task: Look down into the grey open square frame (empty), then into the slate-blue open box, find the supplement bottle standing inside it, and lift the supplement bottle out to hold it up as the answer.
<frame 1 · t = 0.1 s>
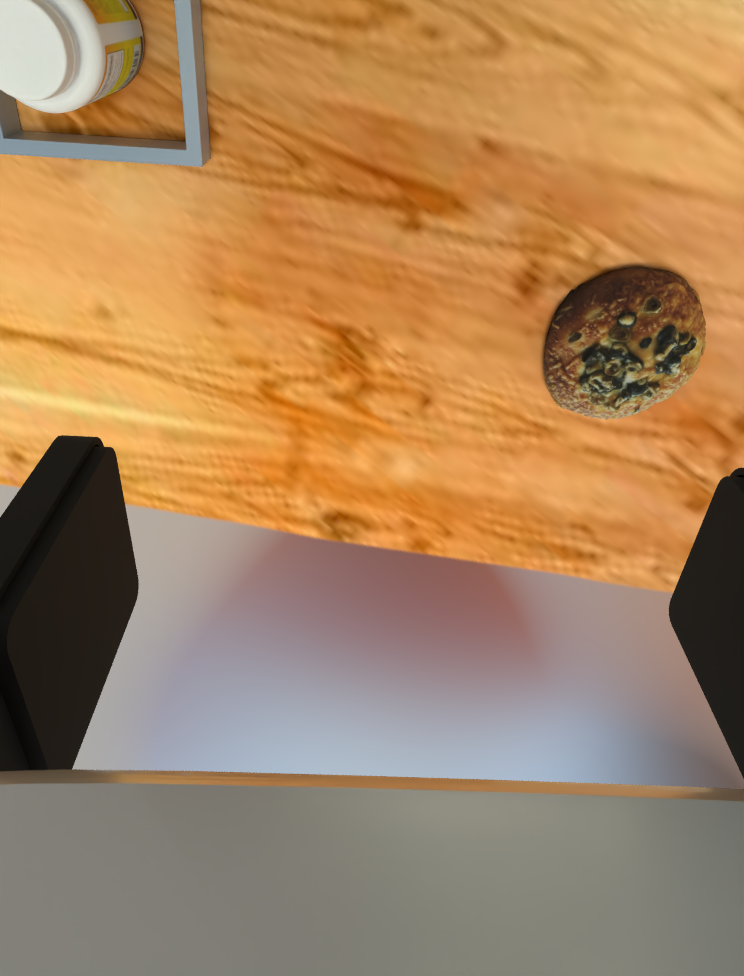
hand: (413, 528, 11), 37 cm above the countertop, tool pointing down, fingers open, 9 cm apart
slate-blue box: (94, 34, 38), on the countertop
bread roll: (618, 341, 49), on the countertop
supplement bottle: (96, 34, 39), resting in slate-blue box
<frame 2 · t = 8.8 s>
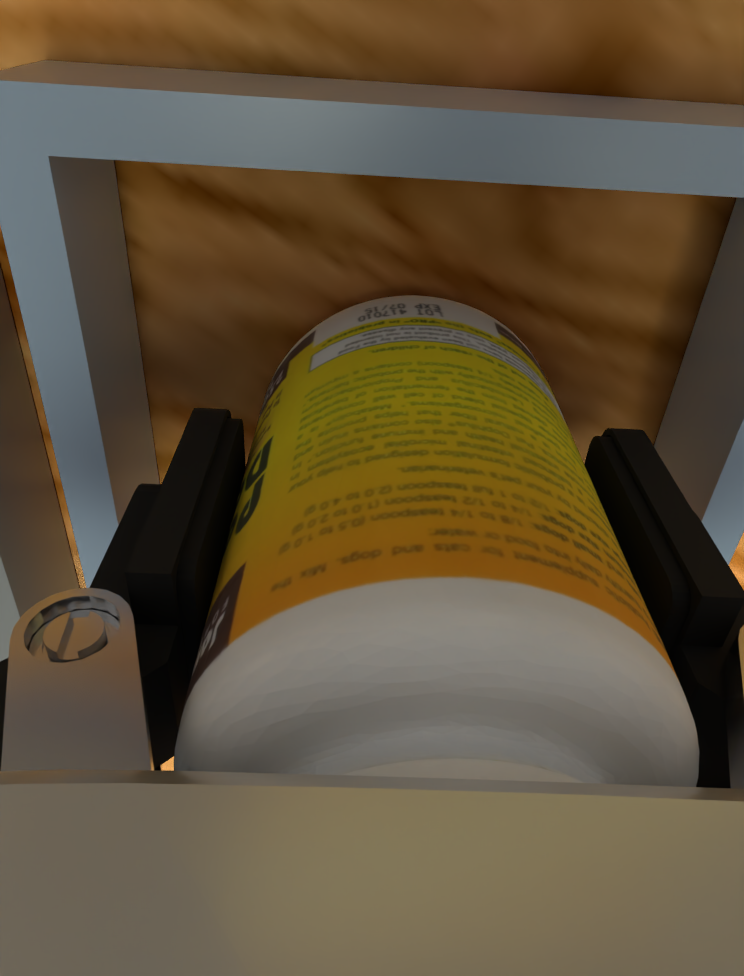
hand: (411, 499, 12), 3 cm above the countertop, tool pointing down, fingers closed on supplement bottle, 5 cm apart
slate-blue box: (406, 422, 14), on the countertop
supplement bottle: (404, 417, 14), resting in slate-blue box, touching gripper
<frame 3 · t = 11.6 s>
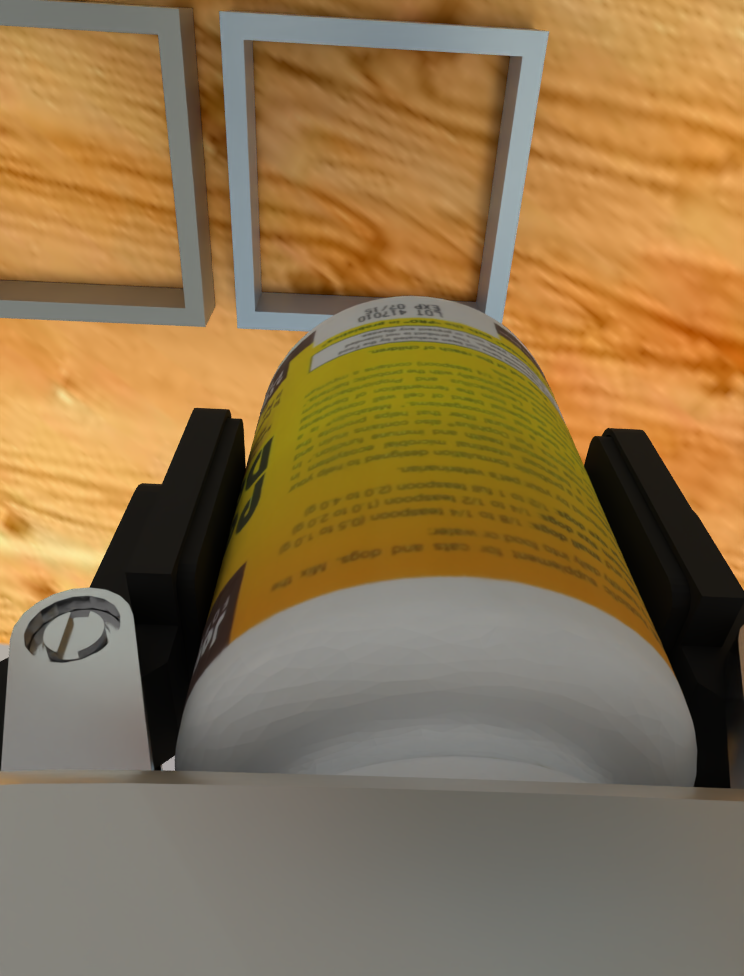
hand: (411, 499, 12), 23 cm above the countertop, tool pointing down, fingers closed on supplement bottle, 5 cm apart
grey open square frame: (65, 166, 30), on the countertop
slate-blue box: (375, 182, 30), on the countertop
supplement bottle: (404, 417, 14), point 20 cm above the countertop, touching gripper
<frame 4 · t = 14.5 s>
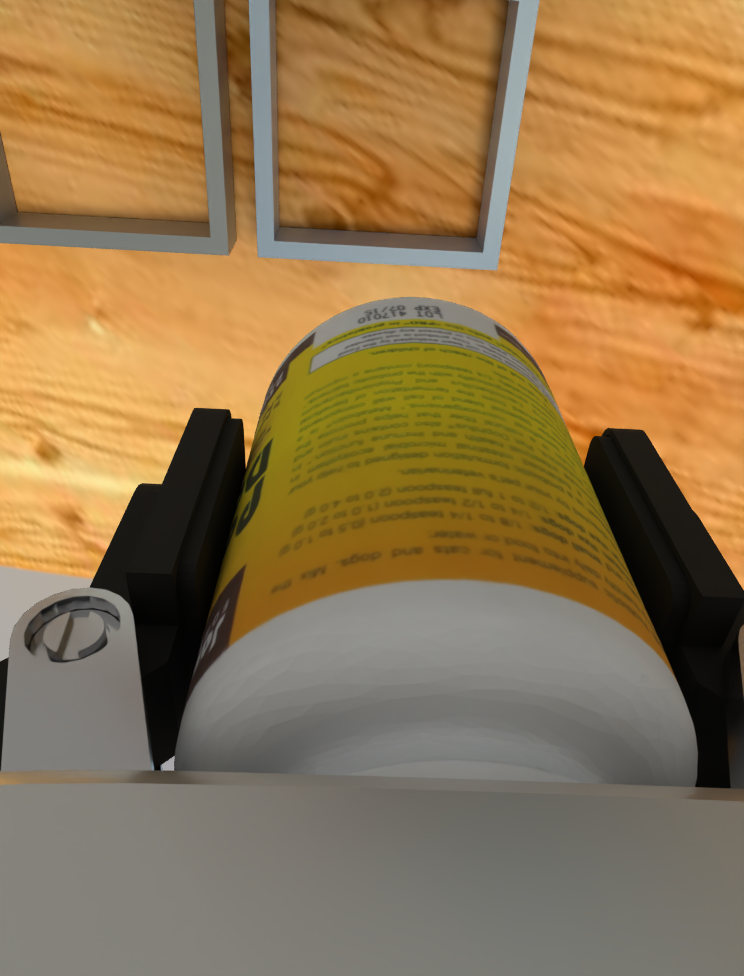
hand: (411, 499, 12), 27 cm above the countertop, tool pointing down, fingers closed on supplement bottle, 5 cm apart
grey open square frame: (103, 105, 33), on the countertop
slate-blue box: (385, 122, 33), on the countertop
supplement bottle: (404, 419, 14), point 25 cm above the countertop, touching gripper
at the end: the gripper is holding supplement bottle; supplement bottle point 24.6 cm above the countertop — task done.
